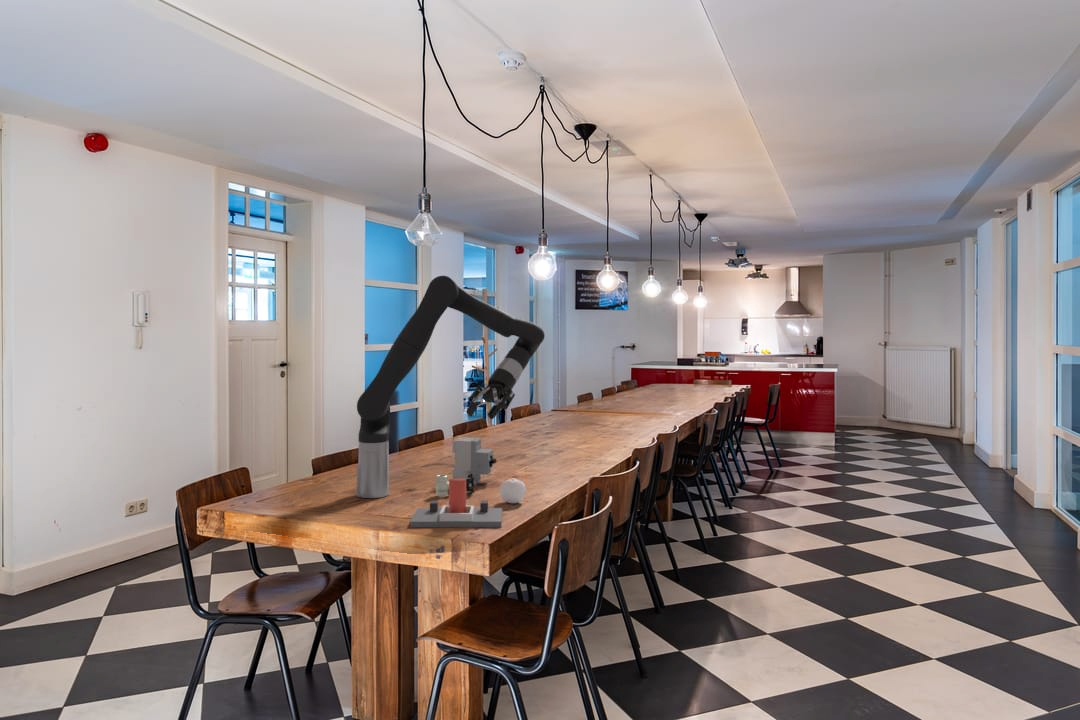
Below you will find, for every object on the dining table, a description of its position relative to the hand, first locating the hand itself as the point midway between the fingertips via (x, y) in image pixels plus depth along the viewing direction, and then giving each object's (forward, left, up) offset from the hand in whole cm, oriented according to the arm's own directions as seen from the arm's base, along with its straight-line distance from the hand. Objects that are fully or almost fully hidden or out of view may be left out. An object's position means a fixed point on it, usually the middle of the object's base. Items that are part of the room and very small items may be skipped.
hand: (479, 415), depth 195 cm
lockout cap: (-5, -16, -26) cm, 30 cm away
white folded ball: (+10, +6, -27) cm, 30 cm away
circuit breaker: (-3, +35, -27) cm, 44 cm away
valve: (-9, +16, -27) cm, 33 cm away
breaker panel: (-5, -13, -27) cm, 31 cm away
